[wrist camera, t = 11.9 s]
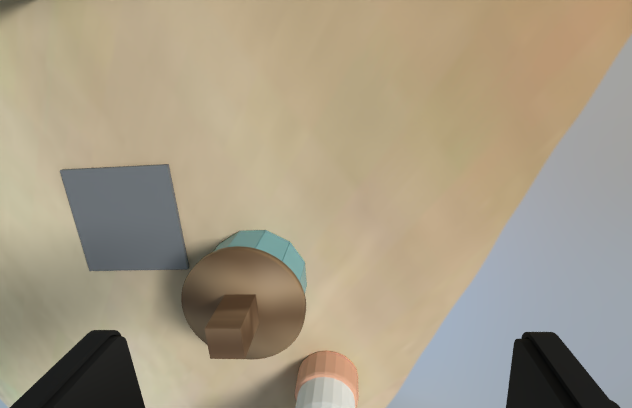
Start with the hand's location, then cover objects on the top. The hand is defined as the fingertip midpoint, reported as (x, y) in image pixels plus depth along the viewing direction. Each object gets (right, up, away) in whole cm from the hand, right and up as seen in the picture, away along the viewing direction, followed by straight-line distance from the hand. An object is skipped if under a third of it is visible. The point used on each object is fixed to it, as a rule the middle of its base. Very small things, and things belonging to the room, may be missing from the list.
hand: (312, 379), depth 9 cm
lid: (-7, -5, +27) cm, 28 cm away
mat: (-21, +2, +31) cm, 38 cm away
